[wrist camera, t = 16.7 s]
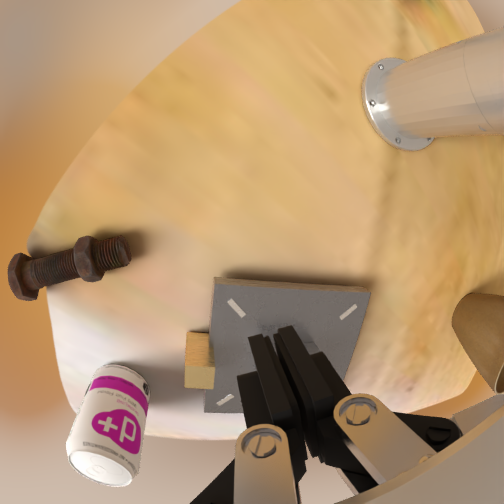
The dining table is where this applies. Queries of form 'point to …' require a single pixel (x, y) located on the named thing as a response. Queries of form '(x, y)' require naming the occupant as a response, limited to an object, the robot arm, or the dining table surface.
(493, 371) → the plant pot
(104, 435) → the supplement can
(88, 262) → the bolt
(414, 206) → the dining table surface
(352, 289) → the grey mounting base
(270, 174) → the dining table surface
